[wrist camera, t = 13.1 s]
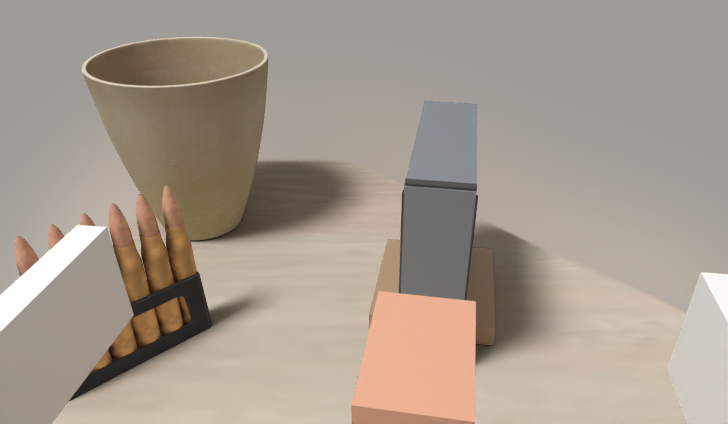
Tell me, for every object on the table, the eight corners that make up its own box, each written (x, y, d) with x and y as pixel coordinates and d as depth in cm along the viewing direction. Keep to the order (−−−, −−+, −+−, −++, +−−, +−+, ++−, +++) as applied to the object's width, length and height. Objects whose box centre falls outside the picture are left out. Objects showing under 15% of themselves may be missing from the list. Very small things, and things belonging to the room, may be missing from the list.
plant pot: (236, 278, 48) (208, 95, 40) (90, 248, 52) (37, 75, 44) (306, 195, 60) (296, 41, 52) (183, 175, 64) (156, 30, 56)
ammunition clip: (200, 313, 44) (173, 175, 38) (212, 326, 43) (186, 185, 37) (55, 387, 38) (-6, 236, 32) (65, 403, 37) (4, 250, 31)
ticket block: (493, 377, 39) (523, 193, 31) (362, 360, 40) (360, 180, 33) (490, 257, 50) (511, 103, 43) (388, 247, 52) (392, 97, 44)
